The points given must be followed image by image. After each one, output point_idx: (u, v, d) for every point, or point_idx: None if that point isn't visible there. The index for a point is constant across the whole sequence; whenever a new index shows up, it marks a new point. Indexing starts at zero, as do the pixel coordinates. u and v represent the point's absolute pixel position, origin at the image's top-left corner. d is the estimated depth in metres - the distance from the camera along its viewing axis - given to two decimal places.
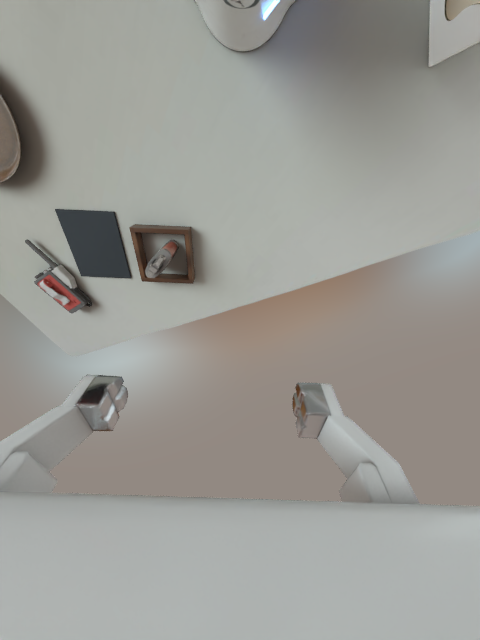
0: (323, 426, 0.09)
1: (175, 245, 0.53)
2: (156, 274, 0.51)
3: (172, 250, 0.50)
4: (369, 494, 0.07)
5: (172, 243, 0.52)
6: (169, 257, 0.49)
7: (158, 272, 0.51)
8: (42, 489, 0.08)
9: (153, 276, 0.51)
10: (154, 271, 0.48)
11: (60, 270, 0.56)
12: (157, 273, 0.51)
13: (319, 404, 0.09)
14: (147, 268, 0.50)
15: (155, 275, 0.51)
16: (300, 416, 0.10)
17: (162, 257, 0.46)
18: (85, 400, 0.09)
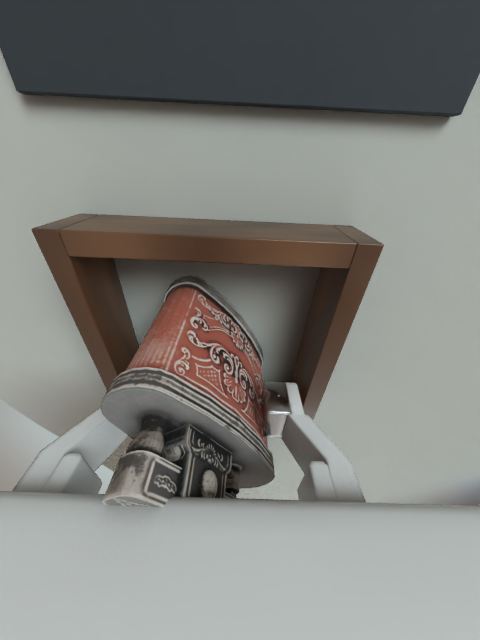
0: (285, 424, 0.09)
1: None
2: (133, 431, 0.08)
3: None
4: (317, 492, 0.07)
5: None
6: None
7: None
8: (91, 491, 0.08)
9: (116, 416, 0.07)
10: None
11: None
12: None
13: (281, 403, 0.09)
14: (179, 407, 0.07)
15: (125, 426, 0.07)
16: (264, 415, 0.10)
17: None
18: None
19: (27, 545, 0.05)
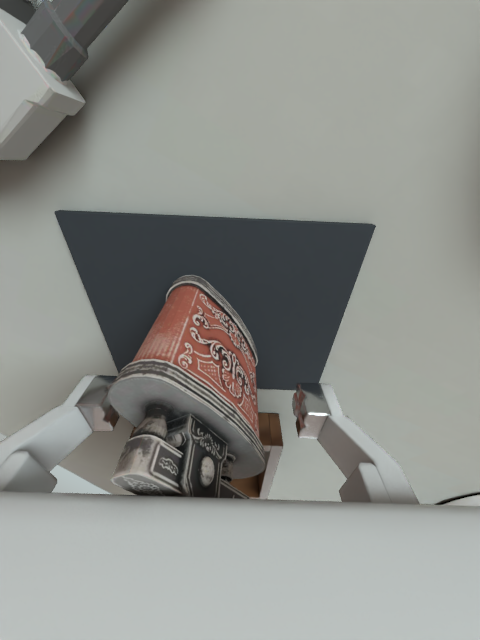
0: (323, 426, 0.09)
1: None
2: (137, 419, 0.08)
3: None
4: (369, 494, 0.07)
5: None
6: None
7: None
8: (42, 490, 0.08)
9: (122, 404, 0.08)
10: None
11: (37, 108, 0.08)
12: None
13: (319, 404, 0.09)
14: (182, 398, 0.07)
15: (129, 414, 0.08)
16: (300, 416, 0.10)
17: None
18: (85, 400, 0.09)
19: (27, 545, 0.05)
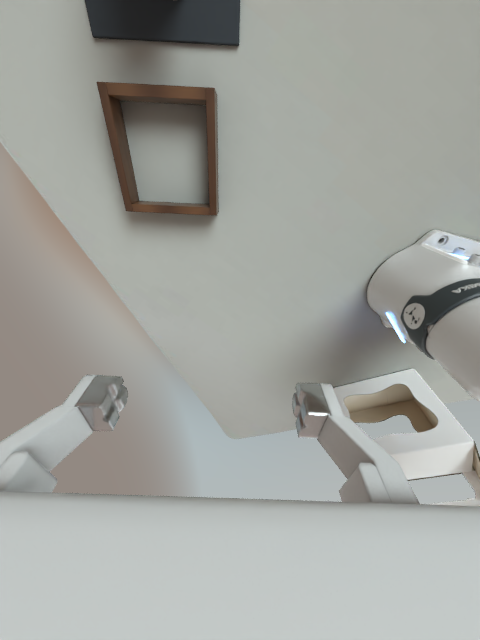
0: (323, 426, 0.09)
1: None
2: None
3: None
4: (369, 494, 0.07)
5: None
6: None
7: None
8: (42, 490, 0.08)
9: None
10: None
11: None
12: None
13: (319, 404, 0.09)
14: None
15: None
16: (300, 416, 0.10)
17: None
18: (85, 400, 0.09)
19: (27, 545, 0.05)
